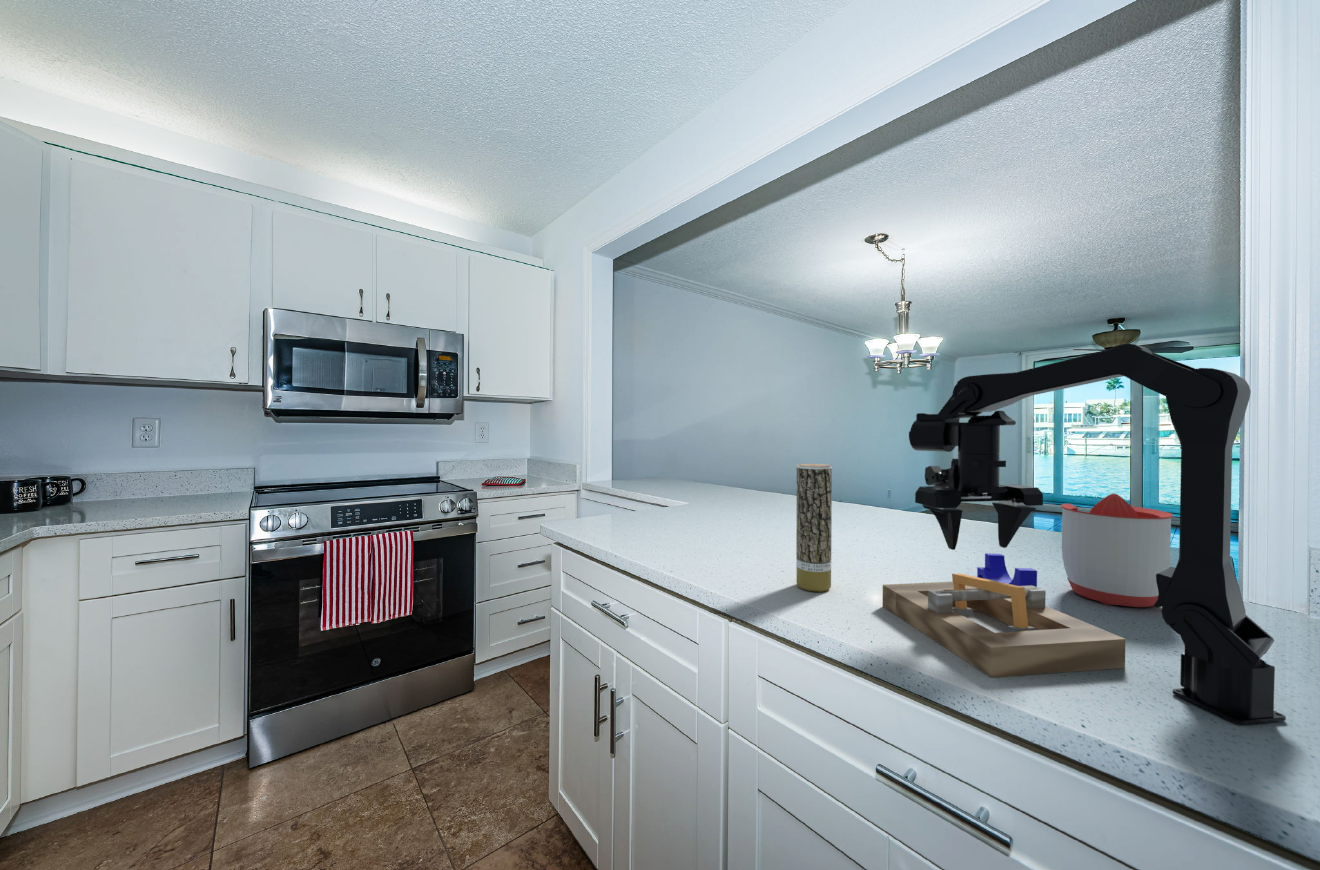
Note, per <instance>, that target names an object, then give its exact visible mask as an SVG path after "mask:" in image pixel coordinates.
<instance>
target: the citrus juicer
mask: <svg viewBox="0 0 1320 870" xmlns="http://www.w3.org/2000/svg"><path fill="white" fill-rule="evenodd" d="M1060 508H1062V509H1061V510H1062V514H1061V515H1062V517H1061V518H1062V519H1061V554H1062V555H1061V558H1062V561H1063V562H1062V563H1063V567H1064V568H1063V569H1064V570H1065V574H1066V576H1067V581H1068V583H1069V585H1070V587H1071V589H1072V591H1073V592H1074V593H1076V594H1077V595H1079V596H1082V597H1084V598H1086V599H1090V600H1094V601H1098V602H1100V603H1102V604H1104V605H1107V606H1125V607H1133V608H1149V607H1155V606H1154V604H1155V603H1156V601H1157V600H1158V595H1159V593H1158V587H1157V582H1156V574H1158V573H1160V572H1161V571H1163V570H1165V569H1167V568H1169V567H1171V566H1170V565H1171V544H1172V543H1171V539H1172V536H1171V534H1172V518H1174V514H1173V513H1171V512H1167V511H1164V510H1160V509H1159V510H1158V509H1153V508H1147V507H1139V506H1132V505H1131V504H1130V503H1128V502H1127V500H1125V499H1124V498H1123V497H1121V496H1120V495H1119V494H1117V493H1110V494H1108V495H1107V496H1105V497H1103V498H1102V499H1101V500H1100V501H1098V502H1097V503H1096V504H1095V505H1094V506H1093V507H1092V508H1091V510H1090V511H1089V512H1087V511H1083V510H1079V508H1078V507H1077V506H1075V505H1073V504H1072V503H1063V504H1061V505H1060Z"/></svg>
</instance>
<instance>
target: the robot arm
mask: <svg viewBox="0 0 1320 870" xmlns="http://www.w3.org/2000/svg"><path fill="white" fill-rule="evenodd" d="M1122 377H1125V378H1127V379H1129V380H1131V381H1133V382H1135V383H1137V384H1139V385H1140V386H1143V387H1144V388H1146V389H1149V390H1151V391H1153V392H1155V393H1158V394H1160V395H1161V396H1164V397H1165V400H1166V404H1167V409H1168V412H1169V416H1170V420H1171V423H1172V426H1173V429H1174V431H1175V435H1176V437H1177V439H1178V441H1179V444H1180V487H1179V489H1180V490H1179V491H1180V495H1179V541H1178V542H1179V543H1178V544H1179V546H1178V548H1179V551H1178V552H1179V553H1178V560H1177V564H1176V566H1175V567H1174V566H1170V567H1169V568H1167V569H1165V570H1163V571H1161V572H1160V573H1158V574H1156V582H1157V587H1158V593H1159V595H1158V600H1157V601H1156V603H1155V604H1154V606H1153V607H1155V608H1161V615H1162V619H1163V621H1164V622H1165V624H1166V625H1167V626H1169V628H1171V629H1172V630H1173V631H1174V632H1175V633H1176V634H1178V635H1179V636H1180V637H1181V641H1182V643H1183V644H1184V652H1183V653H1181V654H1180V669H1179V670H1180V678H1179V681H1180V683H1179V684H1180V686H1181V687H1180V688H1172V694H1173V695H1175V696H1177V697H1180V698H1181V699H1184V700H1186V701H1187V702H1190V703H1191V704H1194V705H1195V706H1198V707H1200V708H1202V709H1204V710H1206V711H1208V712H1211V713H1213V714H1214V715H1217V716H1219V717H1221V718H1224V719H1226V720H1227V721H1230V722H1232V723H1234V724H1237V725H1250V724H1252V725H1253V724H1262V723H1276V722H1285V721H1286V719H1287V718H1286V717H1287V716H1286V715H1284V714H1282V713H1280V712H1278V711H1276V710H1275V680H1276V679H1275V678H1276V677H1275V675H1276V674H1275V671H1276V667H1275V666H1274V665H1271V664H1269V663H1267V662H1266V661H1264V660H1263V659H1262V657H1263V656H1264V655H1265V654H1267V652H1268V651H1269V650H1270V648H1271V647H1272V645H1273V644H1274V642H1275V638H1274V637H1272V636H1271V635H1270V634H1269V633H1268V632H1267V631H1266V630H1264V628H1262V627H1261V626H1259V625H1258V624H1257V623H1256V622H1255V621H1254V620H1253V619H1251V618H1250V617H1249V616H1248V615H1247V614H1246V607H1245V604H1244V600H1243V596H1242V595H1243V594H1242V591H1241V587H1240V584H1239V582H1238V580H1237V576H1236V574H1235V572H1234V570H1233V566H1232V564H1231V531H1232V530H1231V527H1232V524H1231V523H1232V521H1231V520H1232V518H1231V517H1232V484H1233V483H1232V479H1233V477H1232V476H1233V475H1232V474H1233V446H1234V442H1235V440H1236V438H1237V436H1238V434H1239V431H1240V429H1241V426H1242V424H1243V421H1244V418H1245V416H1246V412H1247V408H1248V405H1249V401H1250V399H1251V388H1250V385H1249V383H1248V382H1247V380H1246V379H1244V378H1243V377H1241V376H1240V375H1238V374H1236V373H1233V372H1230V371H1227V370H1223V369H1222V370H1221V369H1217V368H1211V367H1199V368H1195V367H1193V366H1189V365H1187V364H1184V363H1182V362H1180V361H1177V360H1174V359H1171V358H1168V357H1166V356H1163V355H1161V354H1157V353H1156V352H1154V351H1153V352H1152V351H1151V350H1150V349H1149V348H1147V347H1145V346H1143V345H1142V346H1141V345H1137V344H1133V343H1120V344H1117V345H1115V346H1114V347H1111V348H1109V349H1108V348H1107V349H1104V350H1100V351H1096V352H1092V353H1089V354H1088V353H1087V354H1086V355H1085V354H1084V355H1080V356H1077V357H1072V358H1067V359H1064V360H1060V361H1057V362H1056V361H1055V362H1053V363H1049V364H1045V365H1040V366H1037V367H1032V368H1029V369H1024V370H1020V371H1016V372H1007V373H1006V372H1005V373H989V374H988V373H987V374H978V375H977V374H976V375H968V376H964V377H962V378H960V379H959V380H957V382H956V384H955V386H954V387H953V390H952V394H951V396H950V397H949V399H948V400H947V401H946V403H945V404H944V405H943V407H942V408H941V409H940V410H939V412H938V413H929V412H920V413H919V412H918V413H916V416H915V417H916V418H915V419H916V420H914V422H913V423H912V425H911V427H910V431H908V440H909V444H910V446H911V448H912V449H913V450H914V451H922V452H940V453H941V452H943V453H950V452H952V451H953V450H954V449H955V448H956V447H957V458H952V459H951V462H950V468H941V466H940V465H929V466H926V467H925V468H924V481H925V484H926V485H927V486H926V485H924V486H918V488H917V490H916V491H915V494H914V496H915V497H914V499H915V500H914V501H915V504H919V505H922V507H923V509H926V510H929V511H930V512H931V513H932V514H933V516H935V519H936V521H937V523H938V525H939V527H940V530H941V532H942V535H943V537H944V540H945V543H946V545H947V548H948V549H949V550H953V551H955V550H956V548H957V545H958V540H959V533H960V529H961V528H960V527H961V521H962V516H963V515H962V514H963V509H959V508H958V507H959V506H960V504H961V503H967V502H969V503H970V502H971V503H973V502H974V503H975V502H991V504H992V506H993V507H994V509H995V511H996V514H997V539H998V546H999V547H1000V548H1004V549H1006V548H1008V546H1009V544H1010V543H1011V541H1012V540H1013V538H1014V536H1015V535H1016V533H1017V532H1018V531H1019V529H1020V528H1021V526H1022V525H1023V523H1024V522H1025V521H1026V519H1027V518H1028V517H1029V515H1030V514H1031V513H1033V512H1036V509H1037V507H1038V506H1043V505H1044V493H1043V492H1042V491H1041V490H1040V488H1039V487H1036V486H1028V485H1023V484H1022V485H1021V484H1000V468H1006V467H1007V460H1001V457H1000V456H1001V455H1000V452H1001V450H1000V446H1001V444H1000V443H1001V442H1000V441H1001V440H1000V438H1001V437H1000V435H1001V426H1015V425H1016V424H1017V422H1016V420H1014V419H1013V418H1011V417H1010V416H1008V415H1007V413H1006V412H1005V411H1004V410H1000V409H1003V408H1006V407H1009V406H1011V405H1014V404H1015V403H1018V402H1020V401H1021V400H1023V399H1027V398H1029V397H1031V396H1036V395H1040V394H1045V393H1051V392H1056V391H1061V390H1065V389H1070V388H1074V387H1080V386H1084V385H1089V384H1094V383H1098V382H1102V381H1108V380H1113V379H1117V378H1122ZM992 412H993V413H992ZM983 413H992V414H991V415H981V414H983ZM960 419H968V420H967V422H963V421H962V422H960ZM1035 506H1037V507H1035Z"/></svg>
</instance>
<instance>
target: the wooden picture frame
mask: <svg viewBox="0 0 1320 870" xmlns="http://www.w3.org/2000/svg"><path fill="white" fill-rule="evenodd" d="M1021 587H1025V595H1026V597H1025V601H1026V610H1027V619H1028V626H1031V627H1034V628H1035V630H1033V631H1016V632H1008V631H1003V632H994V631H993V630H990V629H989V628H987V627H984V626H983V625H981V624H979V623H977V622H975V621H974V620H972V619H970V618H969V617H964V616H963V615H961V614H959V613H957V612H955V611H953V608H956V606H955V601H967V607H968V608H971V609H973V612H976V611H979V612H982V613H983V614H985V615H988V616H990V617H991V618H994V619H996V620H998V621H1000V622H1002V623H1003V624H1006V625H1007V626H1014V621H1013V611H1012V602H1011V596H1008V595H1004V594H1000V593H996V592H992V591H988V590H983V589H979V588H975V587H971V586H967V585H965V590H954V585H953V581H935V582H934V581H933V582H914V583H913V582H912V583H909V582H908V583H892V584H882V607H883V608H884V609H886V610H888V612H890V613H892V614H893V613H894V614H893V615H895V616H896V615H897V616H896V617H897V618H899V617H900V619H901V620H903V621H904V622H906V623H907V622H908V623H907V624H909V625H910V626H912V627H913V628H915V629H916V628H917V629H916V630H918V631H919V630H920V631H919V632H921V631H922V632H923V633H922V632H921V633H922V634H924V635H925V634H926V636H927V637H928V638H930V639H931V640H933V641H935V642H936V643H938V644H939V645H941V646H943V647H944V648H945V649H946V650H949V651H950V652H951V651H952V653H953V654H954V653H955V654H954V655H956V656H957V655H958V656H957V657H959V658H960V659H962V660H964V661H965V660H966V661H965V662H966V663H968V662H969V663H968V664H970V665H971V664H972V665H971V666H972V667H975V668H976V669H977V668H978V670H979V671H980V670H981V671H980V672H982V671H983V672H982V673H983V674H985V673H986V674H987V676H988V675H989V676H988V677H990V678H1002V677H1017V676H1030V675H1031V676H1032V675H1044V674H1059V673H1072V672H1073V673H1074V672H1087V671H1102V670H1113V669H1114V670H1115V669H1117V670H1119V669H1125V668H1126V638H1124V637H1122V636H1120V635H1117V634H1114V633H1112V632H1110V631H1107V630H1105V629H1102V628H1100V627H1098V626H1096V625H1092V624H1090V623H1088V622H1087V621H1083V620H1081V619H1078V618H1076V617H1074V616H1071V615H1068V614H1067V613H1064V612H1061V611H1058V610H1056V609H1054V608H1051V607H1049V606H1046V597H1047V596H1046V595H1047V594H1046V592H1047V591H1046V589H1042V588H1040V587H1038V586H1037V587H1035V586H1021ZM986 674H985V675H986Z"/></svg>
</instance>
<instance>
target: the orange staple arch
mask: <svg viewBox="0 0 1320 870" xmlns="http://www.w3.org/2000/svg"><path fill="white" fill-rule="evenodd" d="M951 578H952V582H953V585H954V590H965V585H967V586H971V587H975V588H979V589H983V590H988V591H992V592H996V593H1000V594H1004V595H1008V596H1011V602H1012V611H1013V621H1014V626H1010V625H1007V632H1016V631H1033V630H1035V628H1034V627H1031V626H1028V619H1027V610H1026V601H1025V597H1026V595H1025V587H1021V586H1016V585H1011V584H1007V583H1002V582H997V581H993V580H988V579H983V578H979V577H977V576H975V575H973V576H972V575H969V574H963V573H960V572H959V573H952V574H951ZM955 606H956V608H953V611H955V612H957V613H959V614H961V615H963V616H964V617H966V618H969V617H971V618H972V617H975V616H974V611H973V609H971V608H968V607H967V601H955Z"/></svg>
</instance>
